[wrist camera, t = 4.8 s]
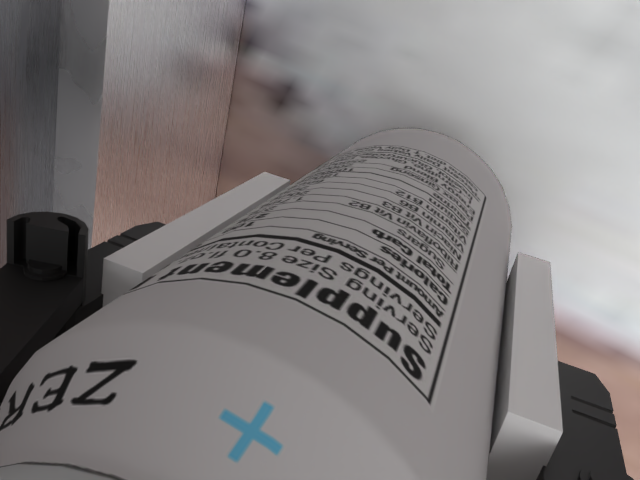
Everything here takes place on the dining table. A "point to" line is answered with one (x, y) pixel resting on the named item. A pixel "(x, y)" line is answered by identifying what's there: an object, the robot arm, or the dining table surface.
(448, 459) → the energy drink can
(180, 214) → the block
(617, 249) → the dining table surface
